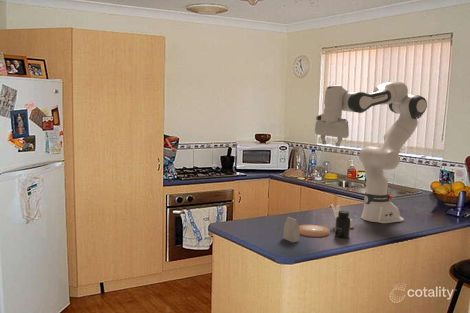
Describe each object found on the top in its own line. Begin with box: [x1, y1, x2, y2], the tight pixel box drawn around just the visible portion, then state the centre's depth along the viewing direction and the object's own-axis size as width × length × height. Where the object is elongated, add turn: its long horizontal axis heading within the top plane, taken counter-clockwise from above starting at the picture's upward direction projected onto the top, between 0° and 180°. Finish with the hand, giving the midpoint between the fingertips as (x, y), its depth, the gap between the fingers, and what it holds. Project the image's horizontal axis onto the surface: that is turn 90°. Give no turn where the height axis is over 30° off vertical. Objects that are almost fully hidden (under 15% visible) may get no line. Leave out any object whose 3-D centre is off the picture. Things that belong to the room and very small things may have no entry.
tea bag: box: [283, 216, 301, 243], centre depth 226 cm, size 4×7×10 cm, turn 33°
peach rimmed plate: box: [299, 224, 331, 238], centre depth 240 cm, size 16×16×2 cm
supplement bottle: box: [334, 210, 351, 239], centre depth 234 cm, size 7×7×12 cm
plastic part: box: [330, 203, 355, 229], centre depth 251 cm, size 8×10×12 cm
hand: (330, 145), depth 249 cm, fingers open, 8 cm apart
